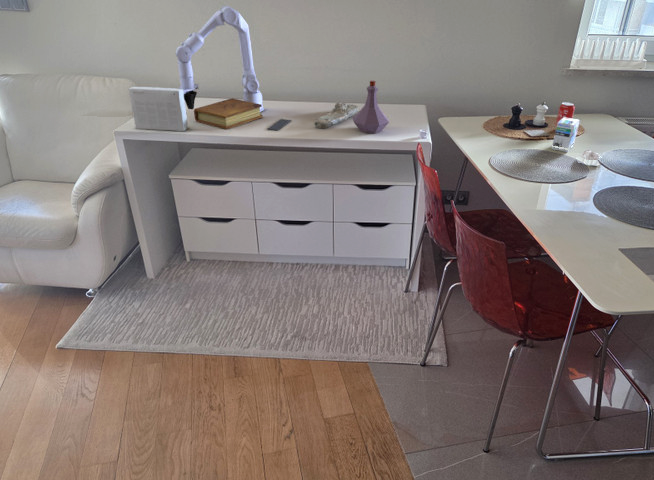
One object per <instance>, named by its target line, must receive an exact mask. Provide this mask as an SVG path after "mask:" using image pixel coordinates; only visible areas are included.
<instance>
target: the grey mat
mask: <svg viewBox="0 0 654 480" xmlns="http://www.w3.org/2000/svg"><path fill="white" fill-rule="evenodd" d="M290 122H291V119H283V118H281V119H279V120H278V121H276V122H275V123H274V124H272V125H270V126H269V127H267V130H268V131H276V132H278V131H279V130H281V129H282V128H283V127H284V126H286V125H288V124H289V123H290Z"/></svg>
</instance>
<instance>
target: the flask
mask: <svg viewBox="0 0 654 480" xmlns="http://www.w3.org/2000/svg"><path fill="white" fill-rule="evenodd" d="M376 83H377V81H376V80H369V85H367V86H366V92H367V96H366V100H365V103H364V105H363V107H362V108H361V109H360V110H358V112H357V113H356V114H355V115H353V116H352V122H353V124H354V125H355V126H356V128H357V129H358V130H359V131H360V133H361V132H362V133H365V134H377V133H378V134H379V133H381V132H382V131H383V130H384V129H385V128H386V127H387V125H389V124H390V122H389V119H388V117H387V116H386V115H385V113H384V112H383V111H382V109H381V108H380V107H379V104H378V98H377V93H378V91H379V88H378V87H377V86H376Z"/></svg>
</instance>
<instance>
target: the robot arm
mask: <svg viewBox="0 0 654 480" xmlns="http://www.w3.org/2000/svg"><path fill="white" fill-rule="evenodd" d="M225 25H229V26H231V27H233V28H234V29H236V31H237V36H238V44H239V50H240V58H241V65H242V78H241V84H242V86H243V90H242V92H243V93H242V96H243V101H247V102H252V103H256V104H261V105H262V107H260V113H261V112H263V111H264V110H265V108H264V106H263V94H262V92H261V91H260V83H259V80H258V79H257V75H256V71H255V68H254V59H253V51H252V44H251V43H252V42H251V36H250V28H249V24H248V23H247V22H246V20H245V19H244V17H243V16H242V15H241V14H240V12H239V11H238V10H236V9H235V8H233V7H231V6H230V5H223V6H221V8H220V9H219V10H217V11H216V12H215V13H213V15H212V16H211V17H210V18H209V19H208V20H207V22H206V23H205V24H204V25H203V26H202V27H201V28H200V29H199V30H198V32H195V31H193V32H192V33H191V32H190V33H188V37H187V39H186V40H185V41H182V42H181V43H180V46H178V47H177V48H176V49H175V56H176V58H177V64H178V66H177V67H178V75H179V81H180V86H179V87H178V89H183V94H184V102H185V105H186V108H187V110H194V109H195V101H196V97H197V95H198V92H197V91H196V90H199V89H200V88H199V84H198V83H195V78H194V70H193V65H192V57H193V55H195V54H196V53H197V52H198V50H200V49H201V47H203V45H204V43H205V38H207V36H209V35H210V34H211V33H212V32H213V30H214V29H216V28H217V27H219V26H225Z"/></svg>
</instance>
